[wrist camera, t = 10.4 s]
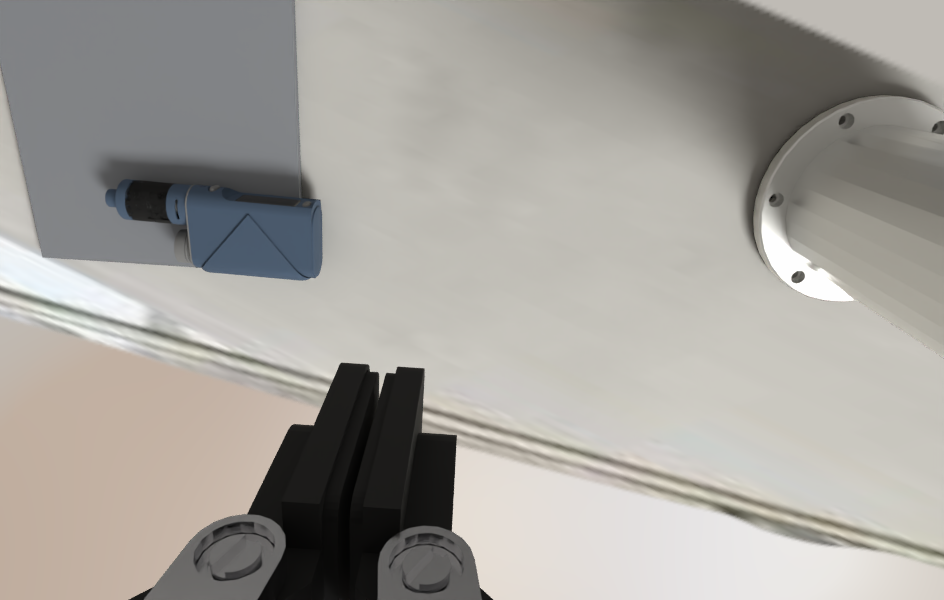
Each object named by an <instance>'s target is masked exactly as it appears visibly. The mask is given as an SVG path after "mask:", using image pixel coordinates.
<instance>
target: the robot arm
mask: <svg viewBox="0 0 944 600" xmlns="http://www.w3.org/2000/svg"><path fill="white" fill-rule="evenodd" d="M840 118H841V121H840V122H839V120H840ZM771 195H773V197H772V199H770V197H771ZM769 199H770V200H769ZM753 225H754V237H755V241H756V244H757V247H758V250H759V254H760V255H761V257H762V259H763V260H764V262H765V264H766V266H767V267H768V268H769V270H770V271H771V272H772V273H773V274H774V275H775V276H776V277H777V278H778V279H779V280H780V281H782V282H783V283H784V284H786V285H787V286H788V287H790V288H791V289H793V290H795V291H797V292H799V293H801V294H803V295H805V296H807V297H811V298H815V299H819V300H823V301H836V302H844V301H853V300H856V301H858V302H859V303H861V304H862V305H864V306H865V307H867V308H868V309H870V310H871V311H873V312H874V313H876V314H877V315H879V316H880V317H882V318H883V319H885V320H886V321H888V322H889V323H891V324H892V325H894V326H895V327H897V328H898V329H900V330H901V331H903V332H904V333H906V334H907V335H909V336H911V337H912V338H914V339H915V340H917V341H918V342H920V343H921V344H923V345H924V346H926V347H927V348H929V349H930V350H932V351H933V352H935V353H936V354H938V355H939V356H941V357H942V358H944V112H943V111H942V110H941V109H939V108H938V107H935V106H933V105H931V104H929V103H926V102H924V101H922V100H917V99H912V98H907V97H902V96H888V95H878V96H870V97H862V98H858V99H855V100H852V101H848V102H845V103H842V104H839V105H837V106H835V107H833V108H831V109H829V110H827V111H825V112H823V113H821V114H819V115H818V116H817V117H815V118H814V119H812V120H811V121H810V122H808V123H807V124H806V125H804V126H803V127H801V128H800V129H799V130H798V131H797V132H796V133H795V134H794V135H793V136H792V137H791V138H790V139H789V140H788V141H787V142H786V143H785V144H784V145H783V147H782V148H781V149H780V151H779V152H778V153H777V155H776V156H775V158H774V159H773V160H772V162H771V163H770V165H769V167H768V169H767V171H766V173H765V175H764V177H763V179H762V181H761V184H760V187H759V190H758V194H757V197H756V200H755V207H754V216H753ZM423 394H424V368H409V367H397V370H396V374H394V373H386V376H385V379H384V383H383V386H382V390H381V394H380V397H379V373H378V372H370V369H369V365H367V364H352V363H341V364H340V365H339V368H338V370H337V372H336V375H335V377H334V379H333V382H332V384H331V386H330V389H329V391H328V393H327V396H326V398H325V400H324V403H323V405H322V407H321V410H320V412H319V415H318V417H317V419H316V422H315V424H314V426H313V425H298V424H294V425H292V426H291V427H290V428H289V430H288V432H287V434H286V436H285V438H284V440H283V442H282V444H281V446H280V448H279V450H278V452H277V454H276V456H275V458H274V460H273V462H272V464H271V466H270V469H269V471H268V473H267V475H266V477H265V479H264V481H263V483H262V485H261V487H260V489H259V491H258V493H257V495H256V497H255V499H254V501H253V503H252V506H251V508H250V510H249V512H248V514H243V515H237V516H230V517H227V518H224V519H221V520H218V521H216V522H213V523H212V524H210V525H209V526H207V527H205V528H204V529H202V530H201V531H200V532H198V533H197V534H196V535H195V536H194V537H193V538H192V539H191V540H190V541H189V543H188V544H187V545H186V546H185V548H184V549H183V550H182V551H181V553H180V554H179V555H178V557H177V558H176V559H175V560H174V562H173V563H172V564H171V565H170V567H169V568H168V569H167V571H166V572H165V573H164V574H163V576H162V577H161V578H160V580H159V581H158V582H157V583H156V585H155V586H154V587H153V588H151V589H149V590H147V591H145V592H143V593H141V594H139V595H137V596H135V597H133V598H131V599H129V600H493V599H492V598H491V597H490V596H489V595H487V594H486V593H485V592H484V591H483V590H482V589H481V588H480V586H479V580H478V575H477V569H476V564H475V559H474V556H473V554H472V551H471V549H470V547H469V546H468V544H467V543H466V542H465V541H464V540H463V539H462V538H461V537H459V536H458V535H456V534H455V533H453V532H452V515H453V496H454V478H455V457H456V440H457V435H446V434H431V433H422V414H423Z"/></svg>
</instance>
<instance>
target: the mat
mask: <svg viewBox="0 0 944 600" xmlns="http://www.w3.org/2000/svg"><path fill="white" fill-rule="evenodd" d="M0 65H1V69H2V74H3V78H4V83H5V87H6V92H7V97H8V101H9V106H10V110H11V115H12V120H13V124H14V129H15V133H16V138H17V142H18V147H19V152H20V156H21V161H22V165H23V170H24V174H25V179H26V184H27V188H28V193H29V197H30V202H31V206H32V211H33V216H34V220H35V225H36V229H37V234H38V238H39V243H40V248H41V252H42V257H46V258H61V259H77V260H92V261H107V262H122V263H138V264H153V265H168V266H184V267H194V266H193V265H192V263H182V262H178V261H177V259H176V257H175V253H174V242H175V237H176V235H177V233H178V232H179V231H180V230H181V229H185V230H187V225H179V224H168V223H157V222H147V221H136V220H126V219H123V218H122V217H121V216H120V215H119V214H118V212H117V209H116V207H109V206H108V205H107V204H106V202H105V194H106V191H107V190H108V189H117V187H118V185H119V183H120V182H121V181H122V180H124V179H131V180H138V181H139V180H142V181H153V182H163V183H174V184H185V185H193V184H197V185H205V186H214V185H218V186H219V187H226V188H230V189H233V190H235V191H238V192H242V193H252V194H263V195H273V196H284V197H295V198H302V190H301V163H300V136H299V109H298V81H297V54H296V27H295V0H0ZM142 183H143V182H142Z"/></svg>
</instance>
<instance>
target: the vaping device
mask: <svg viewBox="0 0 944 600" xmlns="http://www.w3.org/2000/svg"><path fill="white" fill-rule="evenodd" d="M142 182H143V183H142ZM105 202H106V204H107V205H108V206H109V207H116V209H117V212H118V214H119V215H120V216H121V217H122V218H123V219H126V220H136V221H147V222H157V223H168V224H179V225H187V230H185V229H181V230H180V231H179V232H178V233H177V235H176V237H175V242H174V253H175V257H176V259H177V261H178V262H182V263H192V265H193V266H194V267H196V268H202V269H203V270H205V271H207V272H213V273H224V274H235V275H246V276H257V277H268V278H280V279H291V280H308V279H310V278H316V277H317V276H318V275H319V273H320V270H321V265H322V211H321V202H320V200H316V199H305V198H295V197H284V196H273V195H263V194H252V193H242V192H238V191H235V190H233V189H230V188H226V187H219V186H218V185H214V186H205V185H197V184H193V185H185V184H174V183H163V182H153V181H142V180H139V181H138V180H131V179H124V180H122V181H121V182H120V183H119V185H118V187H117V189H108V190H107V191H106V194H105Z"/></svg>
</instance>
